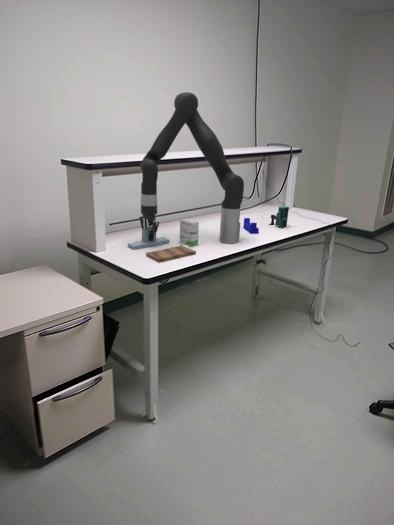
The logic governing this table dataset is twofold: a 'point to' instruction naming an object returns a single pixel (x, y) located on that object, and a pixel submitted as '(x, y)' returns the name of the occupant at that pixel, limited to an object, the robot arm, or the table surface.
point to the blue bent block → (250, 226)
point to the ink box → (189, 232)
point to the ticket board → (170, 253)
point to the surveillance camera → (280, 217)
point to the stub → (147, 240)
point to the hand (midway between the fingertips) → (149, 239)
